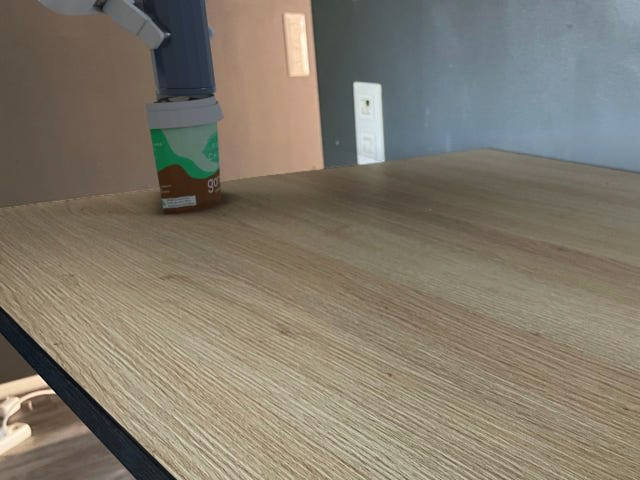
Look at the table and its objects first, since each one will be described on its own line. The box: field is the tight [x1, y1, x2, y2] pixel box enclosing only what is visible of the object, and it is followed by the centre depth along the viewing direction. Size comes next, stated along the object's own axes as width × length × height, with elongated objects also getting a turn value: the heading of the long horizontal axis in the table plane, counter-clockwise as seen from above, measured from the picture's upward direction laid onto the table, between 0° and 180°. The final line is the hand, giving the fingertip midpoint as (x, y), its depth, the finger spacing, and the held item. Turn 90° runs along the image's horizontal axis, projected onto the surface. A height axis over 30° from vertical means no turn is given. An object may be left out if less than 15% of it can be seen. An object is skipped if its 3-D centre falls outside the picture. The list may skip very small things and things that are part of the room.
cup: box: [142, 0, 217, 96], centre depth 72 cm, size 5×5×8 cm
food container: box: [145, 89, 225, 216], centre depth 75 cm, size 12×6×10 cm, turn 16°
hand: (185, 41), depth 71 cm, fingers closed on cup, 5 cm apart
